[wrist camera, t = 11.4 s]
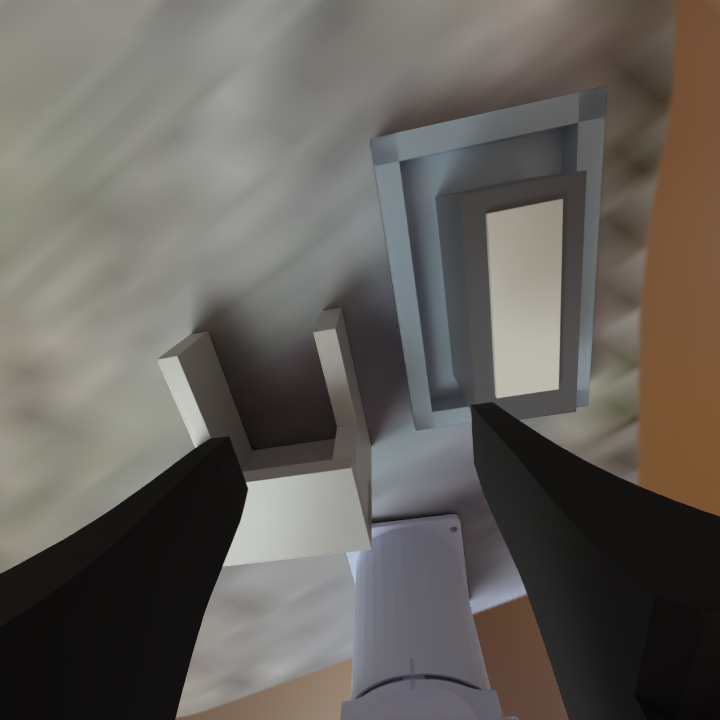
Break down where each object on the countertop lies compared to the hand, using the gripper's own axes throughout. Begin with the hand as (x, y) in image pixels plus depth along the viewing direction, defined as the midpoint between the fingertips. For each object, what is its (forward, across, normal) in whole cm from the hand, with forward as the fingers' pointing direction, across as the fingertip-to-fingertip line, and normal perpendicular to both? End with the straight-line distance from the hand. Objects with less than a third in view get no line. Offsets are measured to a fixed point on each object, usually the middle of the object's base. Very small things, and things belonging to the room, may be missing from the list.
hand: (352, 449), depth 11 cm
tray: (+10, -7, -2) cm, 12 cm away
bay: (+10, +5, +3) cm, 11 cm away
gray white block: (+9, -7, -2) cm, 12 cm away
